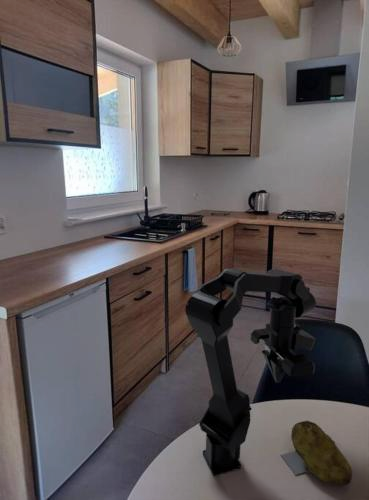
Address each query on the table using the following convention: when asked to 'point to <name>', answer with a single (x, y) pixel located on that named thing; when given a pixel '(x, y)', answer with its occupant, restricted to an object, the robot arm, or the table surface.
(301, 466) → the mat
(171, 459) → the table surface
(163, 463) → the table surface
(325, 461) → the potato
